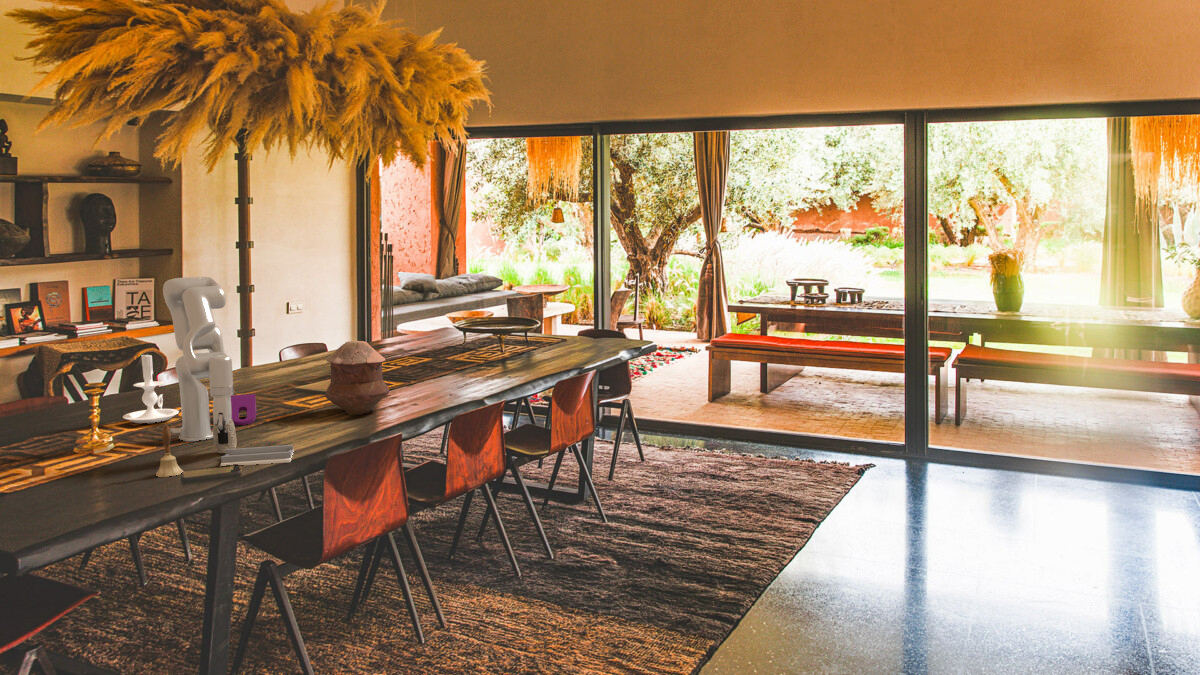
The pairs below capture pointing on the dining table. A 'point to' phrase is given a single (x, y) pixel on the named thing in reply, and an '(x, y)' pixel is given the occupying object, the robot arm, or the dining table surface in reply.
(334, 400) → the pottery vessel
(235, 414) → the mounting bracket
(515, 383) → the dining table surface
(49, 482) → the dining table surface
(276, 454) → the rail plate
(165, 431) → the hand bell
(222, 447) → the carving
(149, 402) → the candlestick
